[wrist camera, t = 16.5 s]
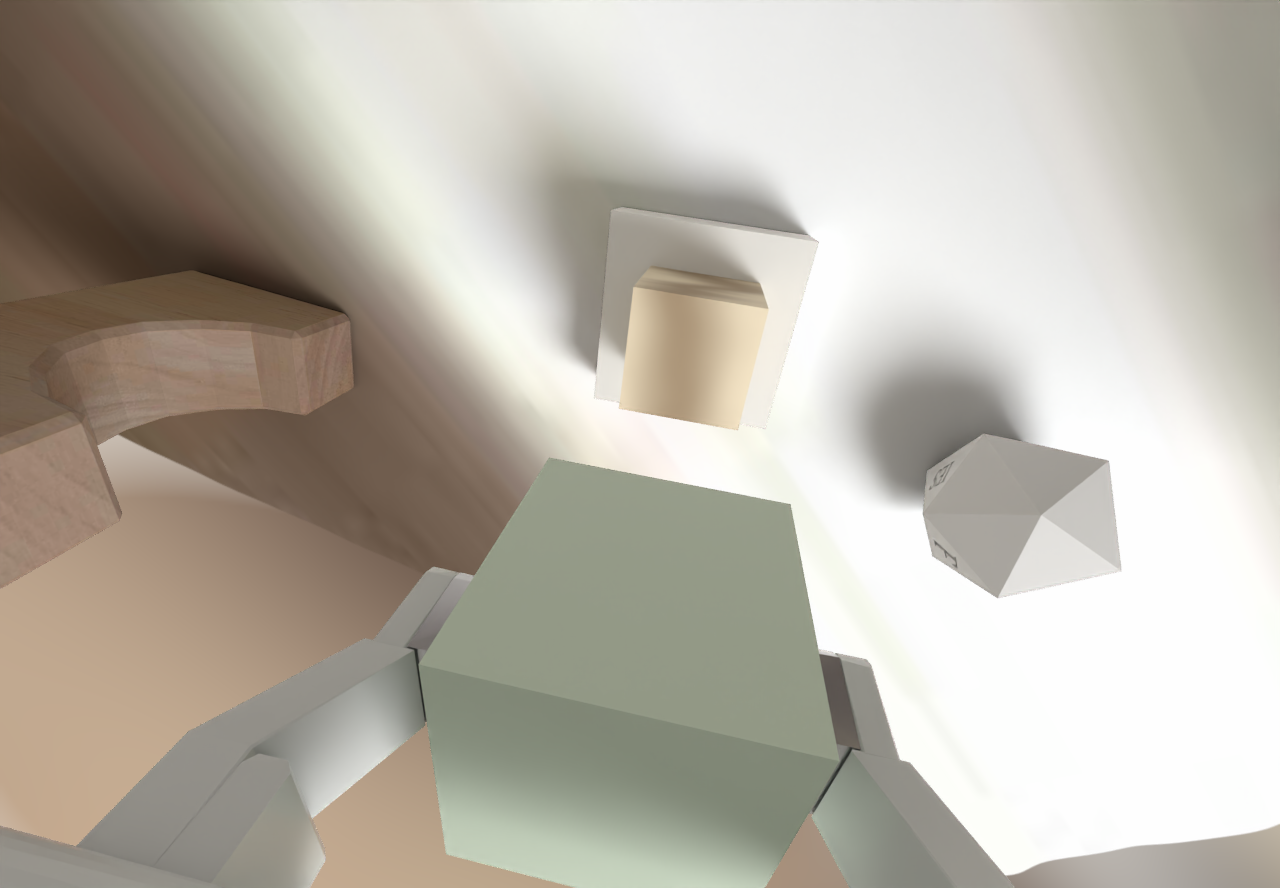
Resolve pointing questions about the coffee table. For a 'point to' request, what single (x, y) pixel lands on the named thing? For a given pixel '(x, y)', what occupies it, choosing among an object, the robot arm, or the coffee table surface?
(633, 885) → the sage cube
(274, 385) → the decorative block
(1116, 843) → the coffee table surface
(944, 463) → the die
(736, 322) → the beech cube
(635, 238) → the foundation slab
